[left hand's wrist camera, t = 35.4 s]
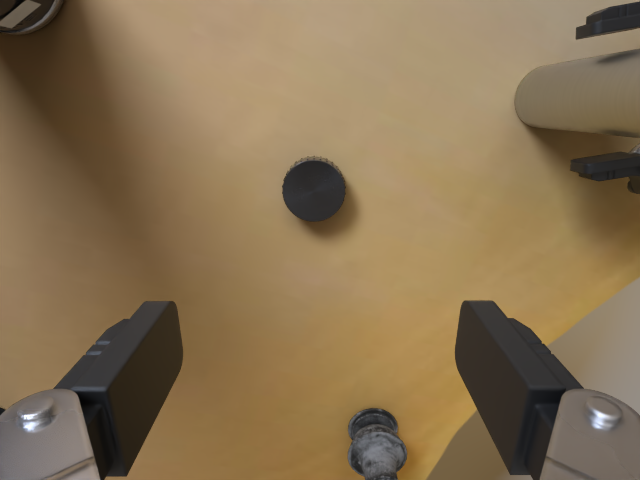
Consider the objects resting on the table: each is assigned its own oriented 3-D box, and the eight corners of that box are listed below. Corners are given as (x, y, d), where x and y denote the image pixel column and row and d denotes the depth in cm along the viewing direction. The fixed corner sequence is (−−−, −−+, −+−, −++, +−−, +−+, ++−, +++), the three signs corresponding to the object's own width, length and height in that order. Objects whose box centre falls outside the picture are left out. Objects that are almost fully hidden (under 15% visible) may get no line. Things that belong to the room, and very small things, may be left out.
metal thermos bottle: (501, 105, 32) (756, 105, 14) (542, 52, 31) (885, -29, 12) (544, 138, 33) (839, 182, 14) (586, 88, 32) (969, 63, 13)
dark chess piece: (409, 416, 42) (443, 531, 31) (385, 456, 44) (408, 578, 32) (359, 398, 41) (375, 510, 30) (336, 439, 43) (342, 559, 32)
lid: (299, 224, 35) (297, 231, 33) (274, 170, 34) (270, 174, 32) (353, 201, 35) (355, 208, 33) (330, 145, 33) (330, 148, 31)
